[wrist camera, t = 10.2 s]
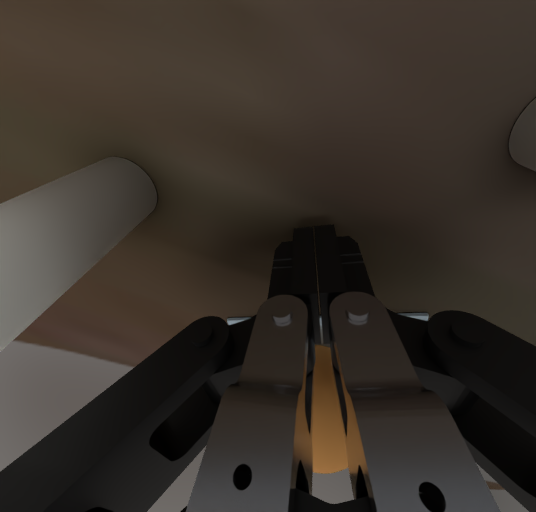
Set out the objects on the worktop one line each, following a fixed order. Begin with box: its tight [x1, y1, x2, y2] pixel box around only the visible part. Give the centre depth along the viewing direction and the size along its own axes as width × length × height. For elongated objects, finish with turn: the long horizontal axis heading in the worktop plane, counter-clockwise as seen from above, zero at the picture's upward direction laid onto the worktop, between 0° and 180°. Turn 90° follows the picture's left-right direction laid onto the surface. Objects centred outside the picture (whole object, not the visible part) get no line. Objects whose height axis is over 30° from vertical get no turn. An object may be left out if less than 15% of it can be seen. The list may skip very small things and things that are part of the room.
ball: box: [312, 345, 348, 474], centre depth 13 cm, size 6×6×6 cm
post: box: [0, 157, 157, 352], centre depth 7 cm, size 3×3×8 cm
